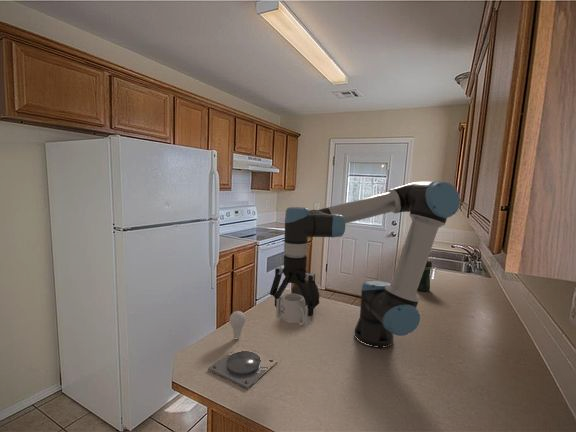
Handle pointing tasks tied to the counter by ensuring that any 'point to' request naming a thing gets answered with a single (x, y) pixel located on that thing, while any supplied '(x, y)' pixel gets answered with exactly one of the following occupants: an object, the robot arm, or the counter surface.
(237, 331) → the lightbulb
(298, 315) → the mug
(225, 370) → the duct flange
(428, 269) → the coffee jar
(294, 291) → the coconut
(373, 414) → the counter surface
